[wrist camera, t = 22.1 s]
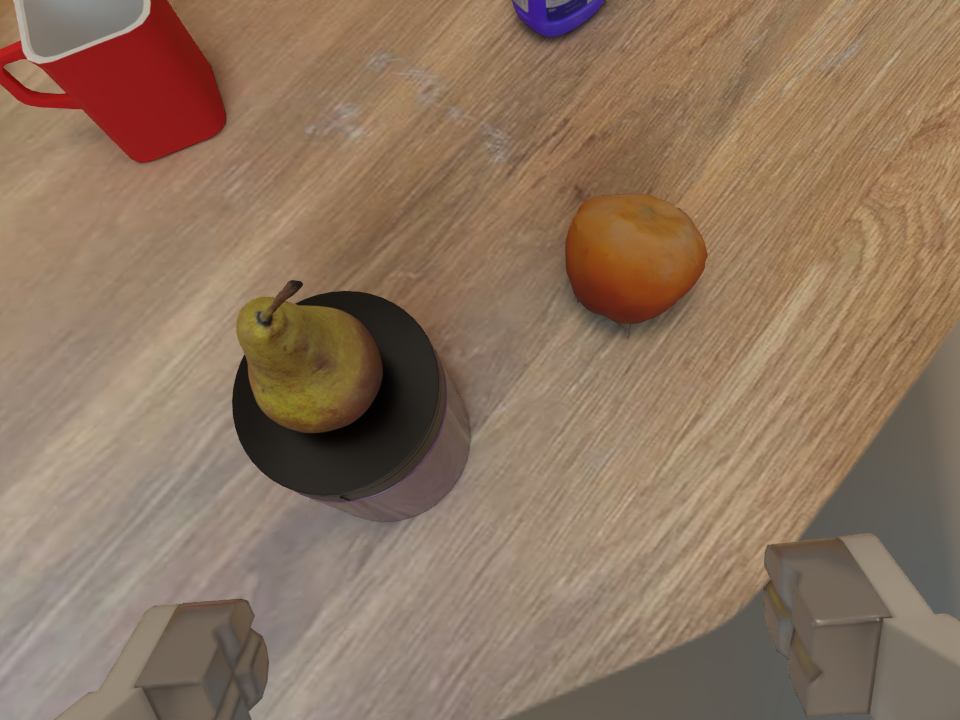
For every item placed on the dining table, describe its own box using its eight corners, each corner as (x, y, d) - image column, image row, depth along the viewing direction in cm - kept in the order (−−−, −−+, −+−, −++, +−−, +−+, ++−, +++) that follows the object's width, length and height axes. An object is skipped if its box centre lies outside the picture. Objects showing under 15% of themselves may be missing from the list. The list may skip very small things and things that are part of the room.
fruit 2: (524, 320, 43) (555, 209, 38) (576, 261, 49) (610, 156, 43) (644, 381, 41) (696, 273, 36) (685, 313, 46) (736, 210, 41)
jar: (478, 511, 41) (451, 484, 31) (312, 531, 42) (234, 510, 32) (462, 351, 45) (433, 281, 35) (308, 372, 45) (237, 309, 35)
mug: (210, 51, 55) (130, -71, 45) (234, 132, 52) (156, 21, 42) (65, 107, 55) (-47, -3, 45) (82, 191, 52) (-33, 94, 42)
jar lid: (454, 490, 33) (447, 483, 31) (247, 513, 33) (229, 509, 32) (437, 293, 36) (431, 277, 34) (250, 319, 37) (233, 304, 35)
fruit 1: (340, 307, 34) (229, 162, 23) (418, 387, 32) (339, 273, 21) (251, 385, 33) (91, 276, 22) (327, 472, 32) (195, 401, 20)
